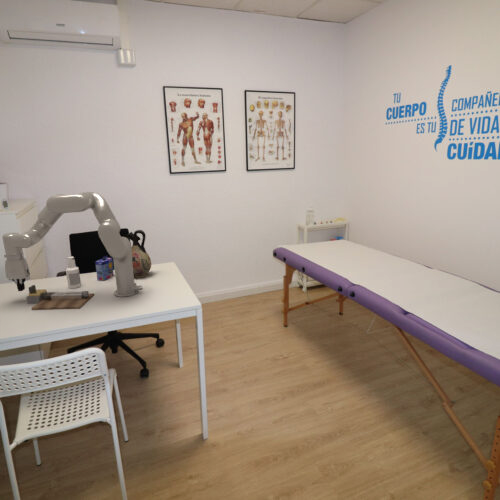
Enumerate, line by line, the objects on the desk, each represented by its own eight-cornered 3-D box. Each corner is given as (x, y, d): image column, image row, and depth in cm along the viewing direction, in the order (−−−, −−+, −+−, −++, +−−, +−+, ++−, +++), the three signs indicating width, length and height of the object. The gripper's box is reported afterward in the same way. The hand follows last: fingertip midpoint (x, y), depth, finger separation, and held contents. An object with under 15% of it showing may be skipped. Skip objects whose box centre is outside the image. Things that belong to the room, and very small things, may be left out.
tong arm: (90, 296, 192) (89, 291, 191) (86, 299, 188) (85, 293, 187) (48, 297, 192) (47, 291, 191) (43, 300, 188) (42, 294, 187)
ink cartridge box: (104, 281, 218) (101, 258, 214) (96, 280, 219) (93, 257, 216) (114, 276, 227) (112, 254, 223) (107, 275, 229) (104, 253, 225)
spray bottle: (76, 289, 206) (71, 259, 201) (65, 288, 207) (61, 258, 202) (83, 285, 212) (79, 255, 207) (73, 284, 213) (69, 255, 209)
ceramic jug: (123, 280, 219) (117, 232, 212) (132, 272, 234) (127, 227, 226) (150, 279, 219) (145, 232, 211) (157, 271, 233) (153, 226, 226)
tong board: (94, 295, 196) (94, 293, 196) (79, 308, 179) (79, 306, 179) (50, 296, 196) (50, 294, 196) (31, 309, 179) (31, 308, 178)
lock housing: (48, 297, 194) (46, 291, 193) (39, 303, 186) (38, 296, 185) (36, 297, 194) (34, 291, 193) (27, 303, 186) (26, 296, 185)
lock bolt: (46, 291, 192) (45, 284, 191) (40, 295, 186) (38, 288, 185) (35, 291, 192) (33, 284, 191) (28, 296, 186) (27, 288, 185)
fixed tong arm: (83, 295, 193) (83, 291, 192) (81, 297, 190) (81, 293, 190) (48, 296, 192) (48, 292, 192) (46, 298, 190) (45, 293, 190)
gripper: (-5, 259, 180) (2, 293, 185) (25, 258, 180) (31, 292, 185) (5, 255, 187) (11, 288, 192) (33, 254, 187) (39, 287, 192)
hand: (21, 290), depth 188 cm, fingers closed
